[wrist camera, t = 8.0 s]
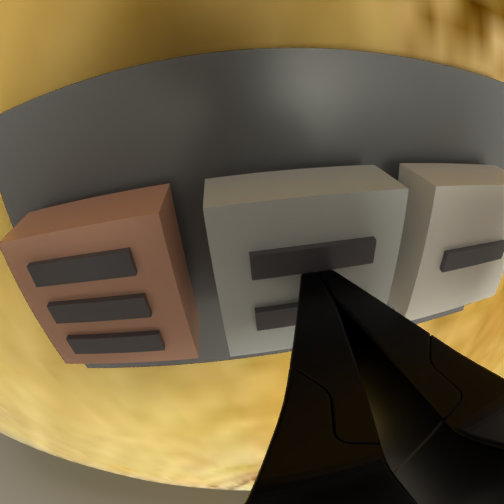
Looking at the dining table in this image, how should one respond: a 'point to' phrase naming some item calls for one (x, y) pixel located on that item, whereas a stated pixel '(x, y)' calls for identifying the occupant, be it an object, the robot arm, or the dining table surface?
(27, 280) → the slotted block
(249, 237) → the tile
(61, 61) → the dining table surface
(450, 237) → the tile
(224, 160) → the board
